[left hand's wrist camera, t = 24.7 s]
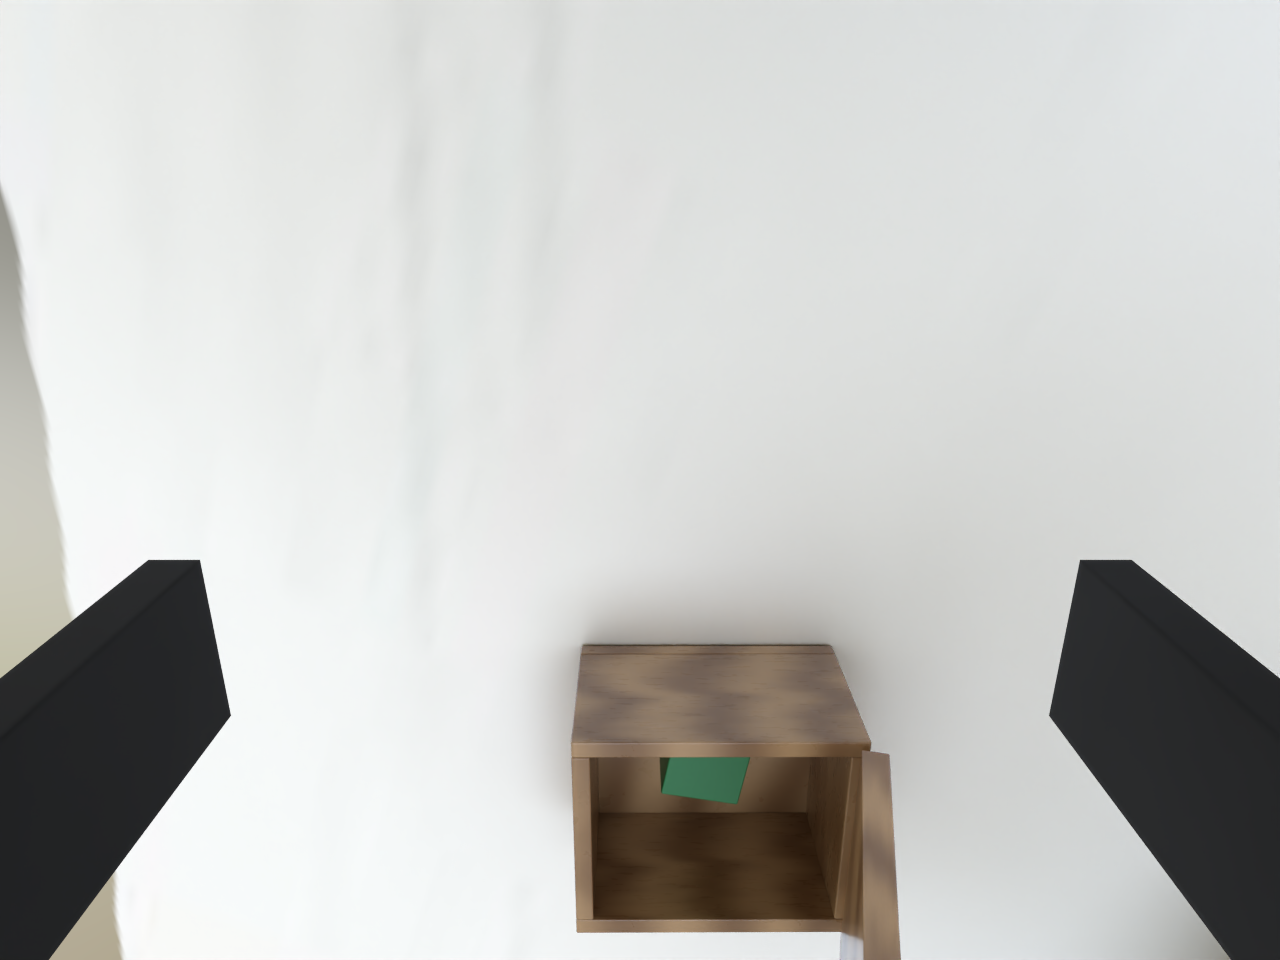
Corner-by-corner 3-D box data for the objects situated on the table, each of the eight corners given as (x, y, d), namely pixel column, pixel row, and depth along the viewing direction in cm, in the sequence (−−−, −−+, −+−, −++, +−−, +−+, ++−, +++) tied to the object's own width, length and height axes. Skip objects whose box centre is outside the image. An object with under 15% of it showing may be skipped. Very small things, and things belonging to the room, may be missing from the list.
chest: (585, 813, 52) (576, 933, 44) (581, 645, 48) (570, 742, 40) (816, 813, 52) (849, 932, 44) (831, 645, 48) (872, 742, 40)
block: (660, 794, 46) (737, 805, 46) (676, 729, 44) (755, 741, 44) (658, 743, 50) (729, 754, 50) (672, 682, 48) (745, 694, 48)
